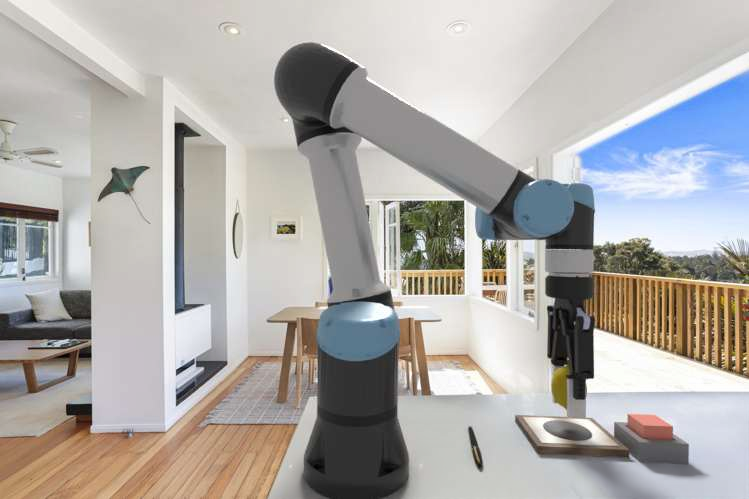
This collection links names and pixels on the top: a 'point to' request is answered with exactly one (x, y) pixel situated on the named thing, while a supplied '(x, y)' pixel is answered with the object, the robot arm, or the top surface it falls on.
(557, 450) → the board
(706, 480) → the top surface
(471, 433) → the fountain pen
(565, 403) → the lemon
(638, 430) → the button
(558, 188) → the robot arm
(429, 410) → the top surface
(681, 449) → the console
